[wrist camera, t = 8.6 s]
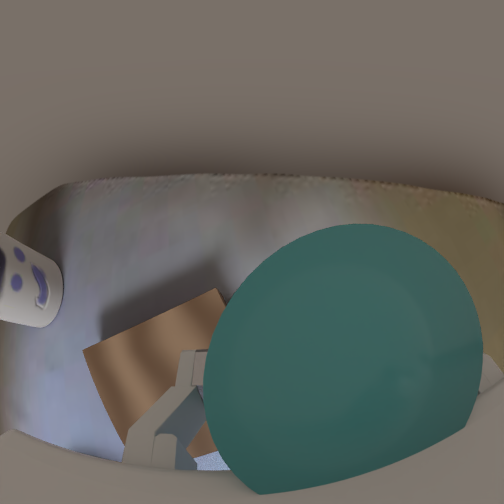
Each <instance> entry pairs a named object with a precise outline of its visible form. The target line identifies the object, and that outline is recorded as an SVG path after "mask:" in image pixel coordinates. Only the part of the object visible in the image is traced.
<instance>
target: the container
mask: <svg viewBox="0 0 504 504" xmlns="http://www.w3.org/2000/svg"><path fill="white" fill-rule="evenodd" d="M62 295H63V280H62V275H61V272H60V269H59V267H58V266H57V264H56V263H55V262H54V261H53V260H51V259H49V258H47V257H46V256H44V255H42V254H40V253H38V252H36V251H34V250H33V249H31V248H29V247H27V246H25V245H23V244H22V243H20V242H18V241H16V240H15V239H13V238H11V237H10V236H8V235H6V234H5V233H3V232H1V231H0V320H4V321H9V322H13V323H18V324H23V325H28V326H33V327H39V328H40V327H45V326H47V325H48V324H50V323H51V322H52V321H53V319H54V318H55V316H56V315H57V313H58V310H59V308H60V305H61V301H62Z"/></svg>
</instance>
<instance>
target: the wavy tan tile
mask: <svg viewBox="0 0 504 504" xmlns="http://www.w3.org/2000/svg"><path fill="white" fill-rule="evenodd" d="M226 306H227V304H226V302H225V300H224V298H223V296H222V294H221V293H220V292H219V291H218V290H217V288H214V289H212V290H210V291H208V292H206V293H204V294H202V295H200V296H198V297H196V298H193V299H191V300H189V301H187V302H185V303H183V304H181V305H179V306H177V307H175V308H172V309H170V310H168V311H166V312H164V313H162V314H160V315H158V316H155V317H153V318H151V319H149V320H147V321H145V322H143V323H140V324H138V325H136V326H134V327H132V328H130V329H128V330H125V331H123V332H121V333H119V334H117V335H114V336H112V337H110V338H108V339H106V340H104V341H101V342H99V343H97V344H95V345H93V346H90V347H88V348H86V349H84V350H82V351H83V354H84V356H85V359H86V362H87V365H88V368H89V370H90V373H91V376H92V378H93V381H94V383H95V386H96V388H97V391H98V393H99V395H100V398H101V400H102V402H103V404H104V407H105V409H106V411H107V413H108V415H109V417H110V419H111V421H112V423H113V425H114V427H115V429H116V431H117V433H118V435H119V437H120V439H121V440H122V442H123V444H124V446H125V444H126V439H127V434H128V430H129V428H130V427H131V426H132V425H133V424H134V423H135V422H136V421H137V420H138V419H139V418H140V417H141V416H142V415H143V414H144V413H145V412H146V411H147V410H148V409H149V408H150V407H151V406H152V405H153V404H154V403H155V402H156V401H157V400H158V399H159V398H160V397H161V396H162V395H163V394H164V393H165V392H166V391H167V390H168V389H169V388H170V387H173V386H175V384H176V378H177V371H178V365H179V359H180V354H181V352H182V350H197V349H209V345H210V342H211V338H212V335H213V333H214V330H215V328H216V326H217V323H218V321H219V319H220V317H221V314H222V313H223V311H224V309H225V308H226ZM186 450H187V452H188V453H189V454H190V455H191V457H192V458H196V457H199V456H202V455H206V454H209V453H212V452H215V451H218V450H217V448H216V446H215V444H214V442H213V439H212V436H211V433H210V430H209V427H208V424H207V421H205V423H204V424H203V425H202V427H201V428H200V430H199V431H198V433H197V434H196V436H195V437H194V438H193V440H192V441H191V443H190V444H189V446H188V447H187V448H186Z"/></svg>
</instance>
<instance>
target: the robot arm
mask: <svg viewBox="0 0 504 504" xmlns="http://www.w3.org/2000/svg"><path fill="white" fill-rule="evenodd" d="M207 352H208V349H197V350H182V352H181V354H180V359H179V365H178V371H177V378H176V384H175V386H173V387H170V388H169V389H168V390H167V391H166V392H165V393H164V394H163V395H162V396H161V397H160V398H159V399H158V400H157V401H156V402H155V403H154V404H153V405H152V406H151V407H150V408H149V409H148V410H147V411H146V412H145V413H144V414H143V415H142V416H141V417H140V418H139V419H138V420H137V421H136V422H135V423H134V424H133V425H132V426H131V427H130V428H129V430H128V434H127V439H126V444H125V448H124V453H123V459H122V462H117V461H112V460H107V459H102V458H98V457H94V456H90V455H86V454H83V453H79V452H76V451H72V450H69V449H66V448H63V447H60V446H57V445H54V444H51V443H48V442H45V441H43V440H40V439H38V438H35V437H33V436H30V435H28V434H26V433H24V432H21V431H19V430H15V429H12V430H9V431H7V432H5V433H4V434H2V435H1V436H0V504H504V374H503V373H502V371H501V370H500V369H499V367H498V366H497V365H496V363H495V362H494V361H493V359H492V358H491V357H490V356H489V355H486V354H484V353H483V365H482V375H481V381H480V386H479V390H478V395H477V398H476V401H475V404H474V407H473V410H472V412H471V415H470V417H469V419H468V421H467V423H466V425H465V427H464V428H463V429H461V430H460V431H458V432H456V433H455V434H453V435H451V436H449V437H448V438H446V439H444V440H442V441H440V442H438V443H437V444H435V445H433V446H431V447H429V448H427V449H425V450H423V451H421V452H419V453H416V454H414V455H412V456H410V457H407V458H405V459H403V460H400V461H398V462H396V463H393V464H391V465H388V466H385V467H383V468H380V469H377V470H374V471H371V472H368V473H365V474H362V475H359V476H356V477H353V478H349V479H346V480H342V481H338V482H334V483H330V484H326V485H321V486H317V487H312V488H307V489H301V490H296V491H289V492H282V493H274V494H265V495H259V494H257V493H256V492H254V491H253V490H251V489H250V488H248V487H247V486H246V485H245V484H244V483H243V482H242V481H241V480H240V479H239V478H238V477H236V476H235V475H234V473H233V472H232V471H231V470H221V471H202V470H197V463H196V462H195V460H194V459H193V458H192V457H191V455H190V454H189V453H188V452H187V450H186V448H187V447H188V446H189V444H190V443H191V441H192V440H193V438H194V437H195V436H196V434H197V433H198V431H199V430H200V428H201V427H202V425H203V424H204V423H205V421H206V415H205V409H204V402H203V376H204V369H205V361H206V356H207Z"/></svg>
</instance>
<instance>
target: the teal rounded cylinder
mask: <svg viewBox="0 0 504 504" xmlns="http://www.w3.org/2000/svg"><path fill="white" fill-rule="evenodd" d="M482 365H483V342H482V334H481V327H480V323H479V318H478V314H477V311H476V308H475V306H474V303H473V300H472V298H471V296H470V294H469V292H468V290H467V288H466V286H465V284H464V282H463V281H462V279H461V278H460V276H459V275H458V273H457V272H456V270H455V269H454V268H453V267H452V266H451V265H450V264H449V262H448V261H447V260H446V259H445V258H444V257H443V256H442V255H440V254H439V253H438V252H437V251H436V250H435V249H433V248H432V247H431V246H429V245H428V244H426V243H425V242H423V241H422V240H420V239H418V238H416V237H414V236H412V235H410V234H408V233H406V232H403V231H400V230H396V229H393V228H390V227H385V226H379V225H373V224H348V225H339V226H333V227H329V228H326V229H322V230H318V231H315V232H313V233H310V234H308V235H305V236H303V237H300V238H298V239H296V240H295V241H293V242H291V243H289V244H287V245H286V246H284V247H282V248H280V249H279V250H278V251H276V252H275V253H274V254H272V255H271V256H270V257H268V258H267V259H266V260H264V261H263V262H262V263H261V264H260V265H259V266H258V267H257V268H256V269H255V270H254V271H253V272H252V273H251V274H250V275H249V276H248V277H247V278H246V279H245V281H244V282H243V283H242V284H241V286H240V287H239V288H238V289H237V291H236V292H235V293H234V294H233V296H232V298H231V299H230V301H229V303H228V304H227V306H226V308H225V309H224V311H223V313H222V314H221V317H220V319H219V321H218V323H217V326H216V328H215V330H214V333H213V335H212V338H211V342H210V345H209V349H208V352H207V356H206V361H205V369H204V376H203V402H204V409H205V415H206V421H207V424H208V427H209V430H210V433H211V436H212V439H213V442H214V444H215V446H216V448H217V450H218V451H219V453H220V455H221V457H222V459H223V460H224V462H225V463H226V464H227V466H228V467H229V468H230V470H231V471H232V472H233V473H234V475H235V476H236V477H238V478H239V479H240V480H241V481H242V482H243V483H244V484H245V485H246V486H247V487H248V488H250V489H251V490H253V491H254V492H256V493H257V494H259V495H265V494H274V493H282V492H289V491H296V490H301V489H307V488H312V487H317V486H321V485H326V484H330V483H334V482H338V481H342V480H346V479H349V478H353V477H356V476H359V475H362V474H365V473H368V472H371V471H374V470H377V469H380V468H383V467H385V466H388V465H391V464H393V463H396V462H398V461H400V460H403V459H405V458H407V457H410V456H412V455H414V454H416V453H419V452H421V451H423V450H425V449H427V448H429V447H431V446H433V445H435V444H437V443H438V442H440V441H442V440H444V439H446V438H448V437H449V436H451V435H453V434H455V433H456V432H458V431H460V430H461V429H463V428H464V427H465V425H466V423H467V421H468V419H469V417H470V415H471V412H472V410H473V407H474V404H475V401H476V398H477V395H478V390H479V386H480V381H481V375H482Z"/></svg>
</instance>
